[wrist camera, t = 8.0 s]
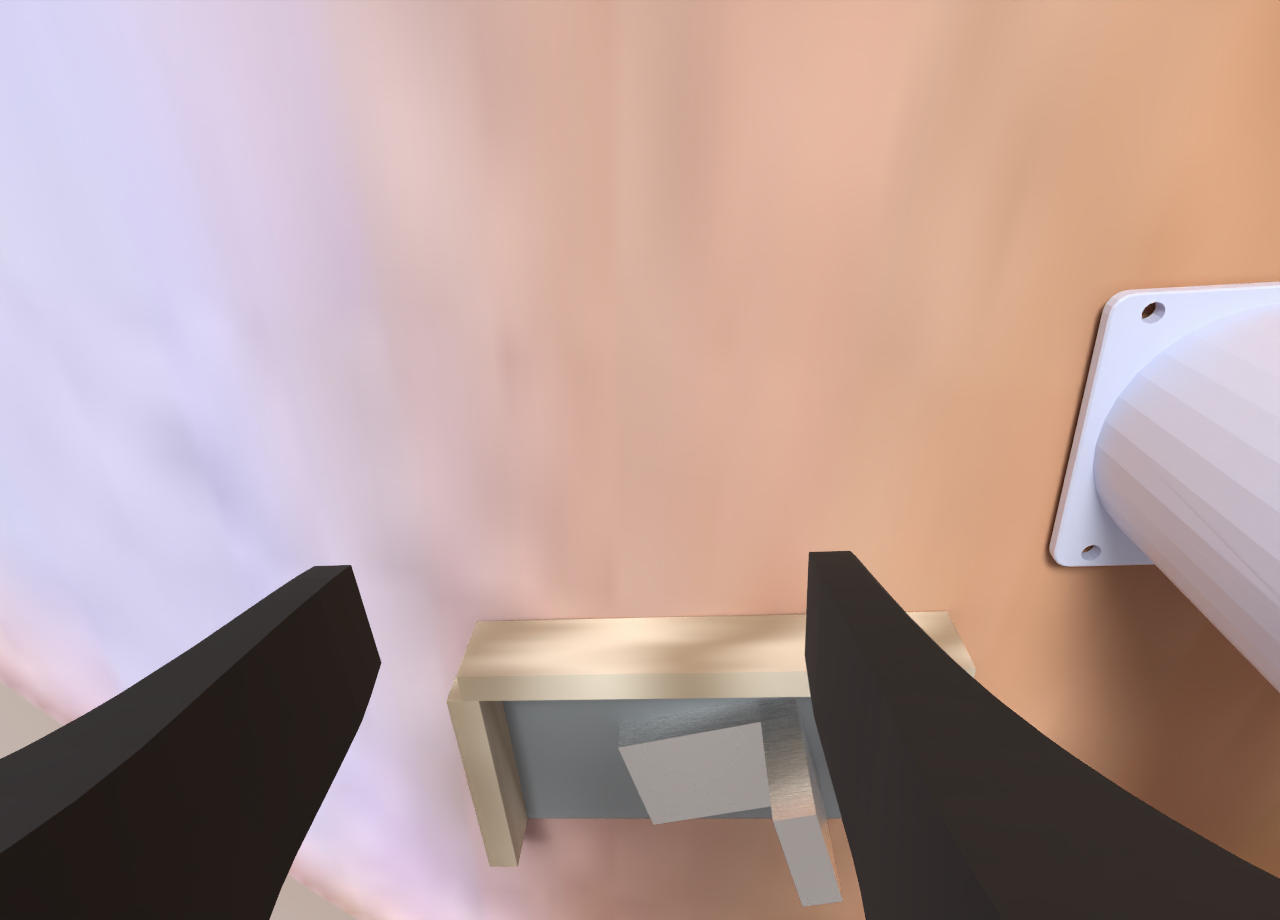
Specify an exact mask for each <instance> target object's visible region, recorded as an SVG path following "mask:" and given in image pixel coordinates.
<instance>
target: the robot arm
mask: <svg viewBox="0 0 1280 920" xmlns="http://www.w3.org/2000/svg"><path fill="white" fill-rule="evenodd" d="M1154 302H1156V308H1155V310H1154V312H1153V313H1152V314H1151V315H1150V316H1149V317H1147V318H1143V319H1142V312H1143V310H1144V308H1145V307H1147V306H1148V305H1149V304H1151V303H1154ZM1091 545H1094V546H1093V548H1092V549H1091V550H1089V551H1088V552H1083V553H1082V551H1083V550H1084V549H1085V548H1086V547H1088V546H1091ZM1049 552H1050V554H1051V556H1052V557H1053V558H1054V560H1055V561H1056V562H1057V563H1058V564H1060V565H1062V566H1067V567H1076V566H1114V565H1153V564H1155V565H1156V566H1157V567H1158V568H1159V569H1160V570H1161V571H1162V572H1163V573H1164V574H1165V575H1166V576H1167V578H1168V579H1169V580H1170V581H1171V582H1172V583H1173V584H1174V585H1175V586H1176V587H1177V588H1178V589H1179V590H1180V591H1181V592H1182V593H1183V594H1184V595H1185V596H1186V597H1187V598H1188V599H1189V600H1190V601H1191V602H1192V603H1193V604H1194V605H1195V606H1196V607H1197V608H1198V609H1199V610H1200V611H1201V613H1202V614H1203V615H1204V616H1205V617H1206V618H1207V619H1208V620H1209V621H1210V622H1211V623H1212V624H1213V625H1214V626H1215V627H1216V628H1217V629H1218V630H1219V631H1220V632H1221V633H1222V634H1223V635H1224V636H1225V637H1226V638H1227V639H1228V640H1229V641H1230V642H1231V643H1232V644H1233V645H1234V646H1235V648H1236V649H1237V650H1238V651H1239V652H1240V653H1241V654H1242V655H1243V656H1244V657H1245V658H1246V659H1247V660H1248V661H1249V662H1250V663H1251V664H1252V665H1253V666H1254V667H1255V668H1256V669H1257V670H1258V671H1259V672H1260V673H1261V674H1262V675H1263V676H1264V677H1265V678H1266V679H1267V680H1268V681H1269V683H1270V684H1271V685H1272V686H1273V687H1274V688H1275V689H1276V690H1277V691H1278V692H1279V693H1280V282H1263V283H1245V284H1226V285H1208V286H1190V287H1171V288H1153V289H1135V290H1126V291H1122V292H1119V293H1117V294H1116V295H1114V296H1112V297H1111V298H1110V300H1109V301H1108V302H1107V303H1106V305H1105V307H1104V309H1103V312H1102V316H1101V321H1100V325H1099V330H1098V334H1097V338H1096V343H1095V347H1094V352H1093V356H1092V361H1091V365H1090V369H1089V374H1088V378H1087V383H1086V387H1085V392H1084V396H1083V400H1082V405H1081V409H1080V414H1079V418H1078V422H1077V427H1076V431H1075V436H1074V440H1073V445H1072V449H1071V453H1070V458H1069V462H1068V467H1067V471H1066V476H1065V480H1064V484H1063V489H1062V493H1061V498H1060V502H1059V507H1058V511H1057V515H1056V520H1055V524H1054V529H1053V533H1052V538H1051V542H1050V546H1049ZM805 662H806V669H807V675H808V682H809V689H810V695H811V701H812V708H813V714H814V719H815V722H816V726H817V730H818V734H819V737H820V741H821V745H822V748H823V752H824V756H825V759H826V763H827V767H828V770H829V774H830V777H831V781H832V785H833V788H834V792H835V795H836V799H837V803H838V806H839V810H840V813H841V817H842V821H843V824H844V828H845V831H846V835H847V839H848V842H849V846H850V849H851V853H852V857H853V861H854V865H855V869H856V873H857V878H858V882H859V886H860V891H861V896H862V901H863V907H864V912H865V918H866V920H1280V879H1279V878H1277V877H1275V876H1273V875H1271V874H1269V873H1267V872H1265V871H1264V870H1262V869H1260V868H1258V867H1256V866H1254V865H1252V864H1250V863H1248V862H1246V861H1244V860H1242V859H1241V858H1239V857H1237V856H1235V855H1233V854H1232V853H1230V852H1228V851H1226V850H1225V849H1223V848H1221V847H1219V846H1218V845H1216V844H1214V843H1212V842H1211V841H1209V840H1207V839H1205V838H1204V837H1202V836H1200V835H1198V834H1197V833H1195V832H1193V831H1192V830H1190V829H1188V828H1186V827H1185V826H1183V825H1181V824H1179V823H1178V822H1176V821H1174V820H1172V819H1171V818H1169V817H1167V816H1166V815H1164V814H1162V813H1161V812H1159V811H1158V810H1156V809H1154V808H1153V807H1151V806H1149V805H1148V804H1146V803H1145V802H1143V801H1141V800H1140V799H1138V798H1136V797H1135V796H1133V795H1132V794H1130V793H1128V792H1127V791H1125V790H1124V789H1122V788H1121V787H1119V786H1118V785H1116V784H1115V783H1113V782H1112V781H1110V780H1109V779H1107V778H1106V777H1104V776H1103V775H1101V774H1100V773H1098V772H1097V771H1095V770H1094V769H1092V768H1091V767H1089V766H1088V765H1086V764H1085V763H1083V762H1082V761H1080V760H1079V759H1077V758H1076V757H1074V756H1073V755H1071V754H1070V753H1069V752H1067V751H1066V750H1064V749H1063V748H1062V747H1060V746H1059V745H1057V744H1056V743H1055V742H1053V741H1052V740H1050V739H1049V738H1048V737H1046V736H1045V735H1044V734H1042V733H1041V732H1040V731H1038V730H1037V729H1036V728H1035V727H1033V726H1032V725H1031V724H1029V723H1028V722H1027V721H1025V720H1024V719H1023V718H1022V717H1020V716H1019V715H1018V714H1016V713H1015V712H1014V711H1012V710H1011V709H1010V708H1009V707H1007V706H1006V705H1005V704H1003V703H1002V702H1001V701H1000V700H999V699H997V698H996V697H995V696H994V695H992V694H991V693H990V692H989V691H988V690H987V689H985V688H984V687H983V686H982V685H981V684H980V683H979V682H977V681H976V680H975V679H974V678H973V677H972V676H971V675H970V674H969V673H967V672H966V671H965V670H964V669H963V668H962V667H961V666H960V665H959V664H958V663H956V662H955V661H954V660H953V659H952V658H951V657H950V656H949V655H948V654H947V653H946V652H945V651H944V650H943V649H942V648H941V647H940V646H939V645H938V644H937V643H936V642H935V641H934V640H933V639H932V638H931V637H930V636H929V635H928V634H927V633H926V632H925V631H924V630H923V629H922V628H921V627H920V626H919V625H918V624H917V623H916V622H915V621H914V620H913V619H912V618H911V617H910V616H909V615H908V614H907V613H906V612H905V611H904V610H903V609H902V608H901V607H900V605H899V604H898V603H897V602H896V601H895V600H894V599H893V598H892V597H891V596H890V595H889V593H888V592H887V591H886V590H885V589H884V588H883V587H882V586H881V584H880V583H879V582H878V581H877V580H876V579H875V578H874V577H873V575H872V574H871V573H870V572H869V571H868V570H867V568H866V567H865V566H864V565H863V564H862V563H861V562H860V560H859V559H858V558H857V557H856V556H855V555H854V554H853V553H852V552H851V551H832V552H809V565H808V588H807V611H806V634H805ZM380 665H381V660H380V657H379V654H378V651H377V647H376V644H375V641H374V638H373V634H372V631H371V628H370V625H369V622H368V618H367V615H366V612H365V609H364V605H363V602H362V599H361V596H360V592H359V589H358V586H357V583H356V580H355V576H354V573H353V570H352V567H351V565H339V566H314V567H312V568H311V569H309V570H307V571H305V572H304V573H302V574H300V575H299V576H297V577H295V578H294V579H292V580H291V581H289V582H288V583H286V584H285V585H283V586H282V587H280V588H279V589H277V590H276V591H274V592H273V593H271V594H270V595H268V596H267V597H265V598H264V599H262V600H261V601H259V602H258V603H257V604H255V605H254V606H252V607H251V608H249V609H248V610H246V611H245V612H243V613H242V614H241V615H239V616H238V617H236V618H235V619H233V620H232V621H230V622H229V623H227V624H226V625H224V626H223V627H222V628H220V629H219V630H217V631H216V632H214V633H213V634H211V635H210V636H208V637H207V638H205V639H204V640H203V641H201V642H200V643H198V644H197V645H195V646H194V647H192V648H191V649H189V650H188V651H186V652H184V653H183V654H181V655H180V656H178V657H177V658H175V659H174V660H172V661H170V662H169V663H167V664H166V665H164V666H163V667H161V668H159V669H158V670H156V671H155V672H153V673H152V674H150V675H149V676H147V677H145V678H144V679H142V680H141V681H139V682H138V683H136V684H134V685H133V686H131V687H130V688H128V689H127V690H125V691H123V692H122V693H120V694H118V695H117V696H115V697H114V698H112V699H110V700H109V701H107V702H105V703H103V704H102V705H100V706H98V707H97V708H95V709H93V710H91V711H90V712H88V713H86V714H84V715H83V716H81V717H79V718H77V719H75V720H74V721H72V722H70V723H68V724H66V725H65V726H63V727H61V728H59V729H57V730H55V731H54V732H52V733H50V734H48V735H46V736H45V737H43V738H41V739H39V740H37V741H35V742H33V743H31V744H30V745H28V746H26V747H24V748H22V749H20V750H18V751H16V752H14V753H12V754H10V755H8V756H6V757H4V758H1V759H0V920H269V919H270V916H271V914H272V911H273V908H274V906H275V903H276V900H277V898H278V895H279V893H280V890H281V888H282V885H283V883H284V881H285V879H286V877H287V874H288V872H289V870H290V868H291V865H292V863H293V861H294V859H295V856H296V854H297V852H298V850H299V848H300V846H301V844H302V842H303V840H304V838H305V836H306V834H307V832H308V830H309V828H310V826H311V824H312V822H313V820H314V818H315V816H316V814H317V812H318V810H319V808H320V806H321V804H322V802H323V800H324V798H325V796H326V794H327V792H328V790H329V788H330V786H331V784H332V782H333V780H334V778H335V776H336V774H337V772H338V770H339V768H340V766H341V764H342V762H343V760H344V758H345V756H346V754H347V751H348V749H349V747H350V745H351V743H352V741H353V739H354V737H355V735H356V733H357V731H358V729H359V726H360V724H361V722H362V720H363V717H364V714H365V711H366V708H367V705H368V703H369V700H370V697H371V694H372V691H373V688H374V685H375V681H376V678H377V675H378V672H379V669H380Z"/></svg>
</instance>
